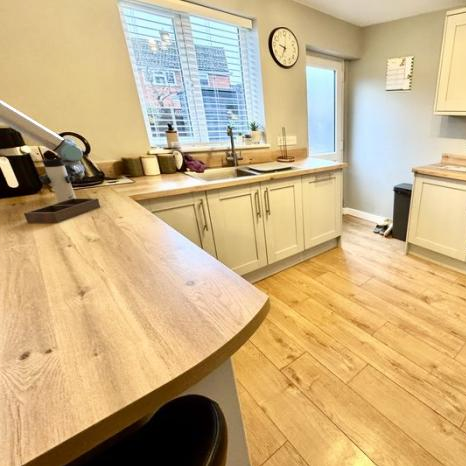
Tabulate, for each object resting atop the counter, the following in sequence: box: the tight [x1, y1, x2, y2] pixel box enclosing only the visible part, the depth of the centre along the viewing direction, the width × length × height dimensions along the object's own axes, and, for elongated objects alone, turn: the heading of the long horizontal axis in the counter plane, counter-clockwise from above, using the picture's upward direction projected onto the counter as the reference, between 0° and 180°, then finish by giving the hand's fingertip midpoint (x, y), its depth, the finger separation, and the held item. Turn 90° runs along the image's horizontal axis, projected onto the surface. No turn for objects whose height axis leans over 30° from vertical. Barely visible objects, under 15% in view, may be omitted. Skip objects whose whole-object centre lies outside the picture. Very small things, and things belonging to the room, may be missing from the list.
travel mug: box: [42, 157, 77, 203], centre depth 128 cm, size 6×7×20 cm
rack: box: [23, 197, 101, 224], centre depth 119 cm, size 11×21×4 cm, turn 2°
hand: (56, 181), depth 124 cm, fingers closed on travel mug, 6 cm apart
